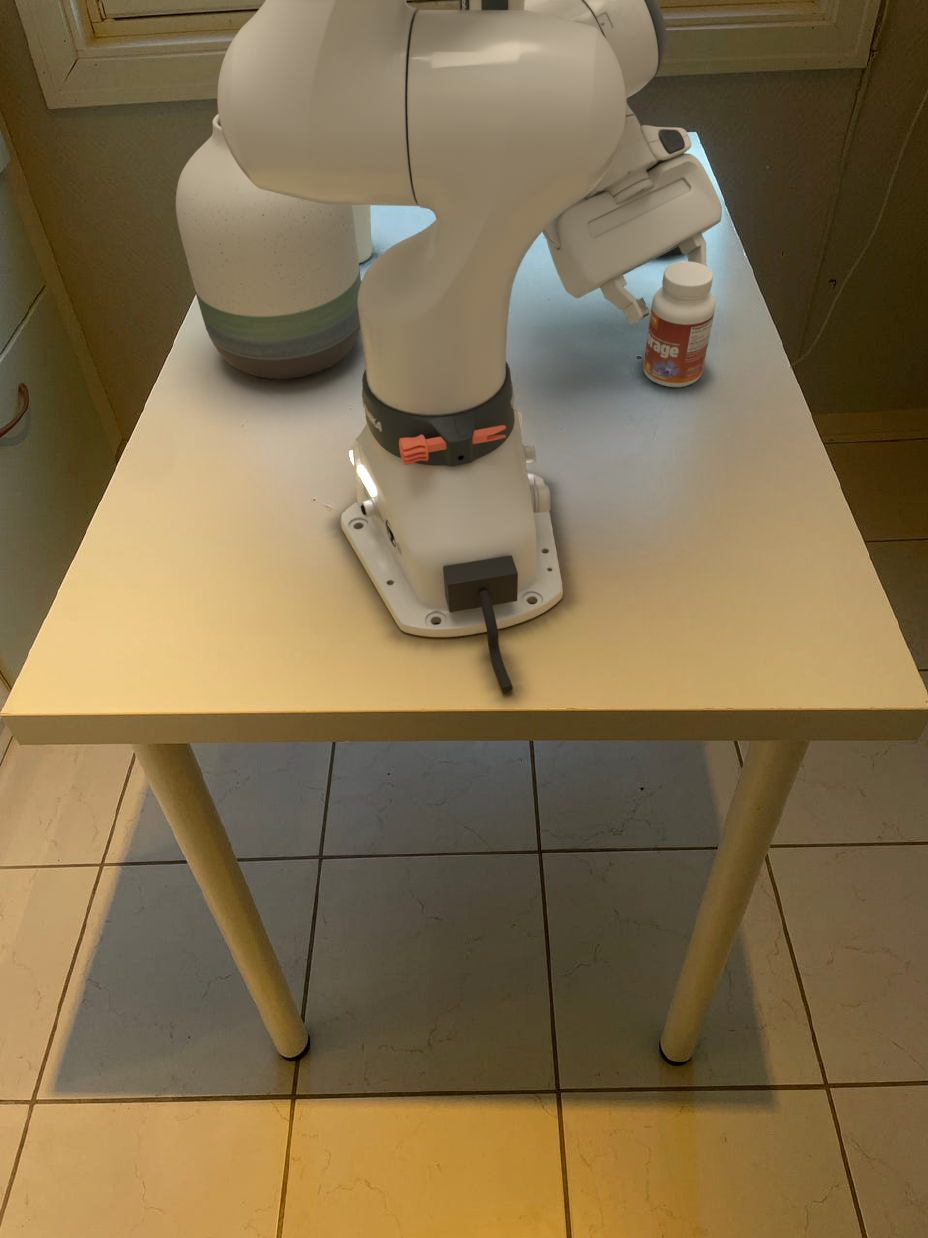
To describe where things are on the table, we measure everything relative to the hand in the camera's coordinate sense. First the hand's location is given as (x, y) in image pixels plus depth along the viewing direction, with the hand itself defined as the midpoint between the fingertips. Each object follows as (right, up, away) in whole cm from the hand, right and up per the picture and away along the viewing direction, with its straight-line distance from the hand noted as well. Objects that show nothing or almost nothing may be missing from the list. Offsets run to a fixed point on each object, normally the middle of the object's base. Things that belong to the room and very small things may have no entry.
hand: (672, 302), depth 92 cm
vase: (-40, -2, +10) cm, 41 cm away
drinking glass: (-35, +14, +24) cm, 44 cm away
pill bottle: (+1, -6, +5) cm, 8 cm away
